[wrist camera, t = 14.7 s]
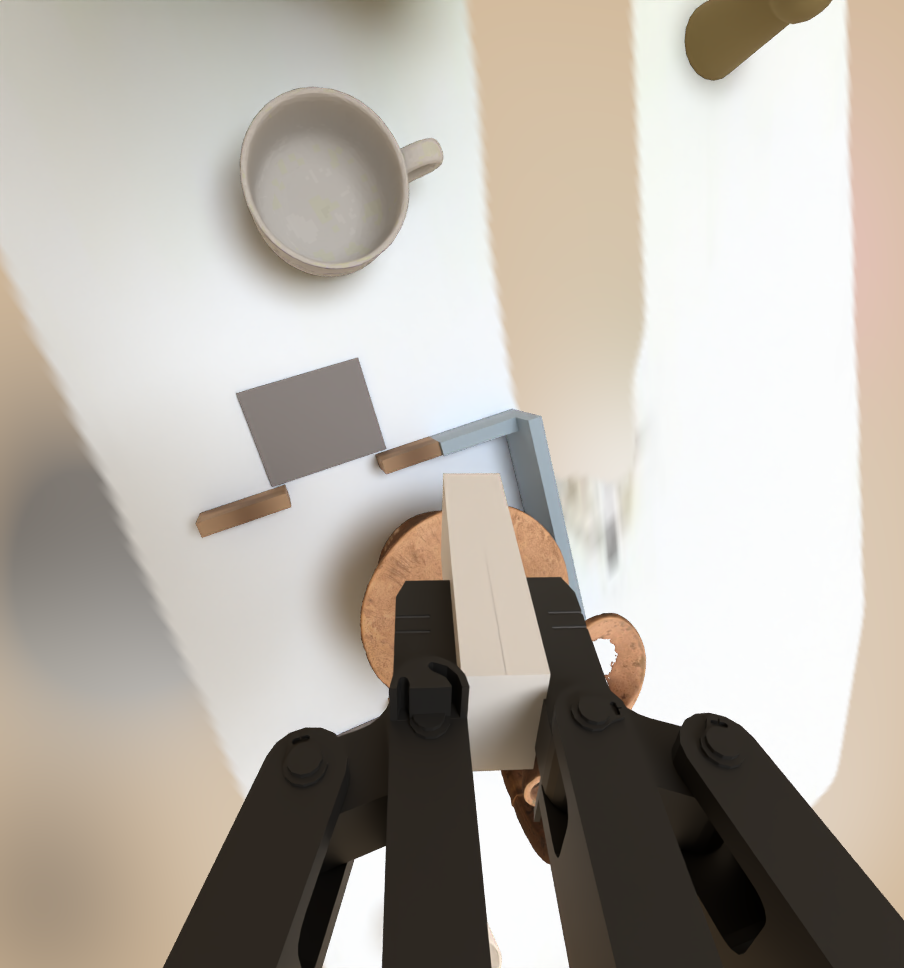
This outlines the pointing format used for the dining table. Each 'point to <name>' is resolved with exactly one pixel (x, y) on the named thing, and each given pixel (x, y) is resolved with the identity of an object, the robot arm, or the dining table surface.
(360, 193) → the teacup
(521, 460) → the pocket
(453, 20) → the dining table surface
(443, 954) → the robot arm
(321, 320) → the dining table surface
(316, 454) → the mat
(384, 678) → the pitcher
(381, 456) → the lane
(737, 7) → the cork
